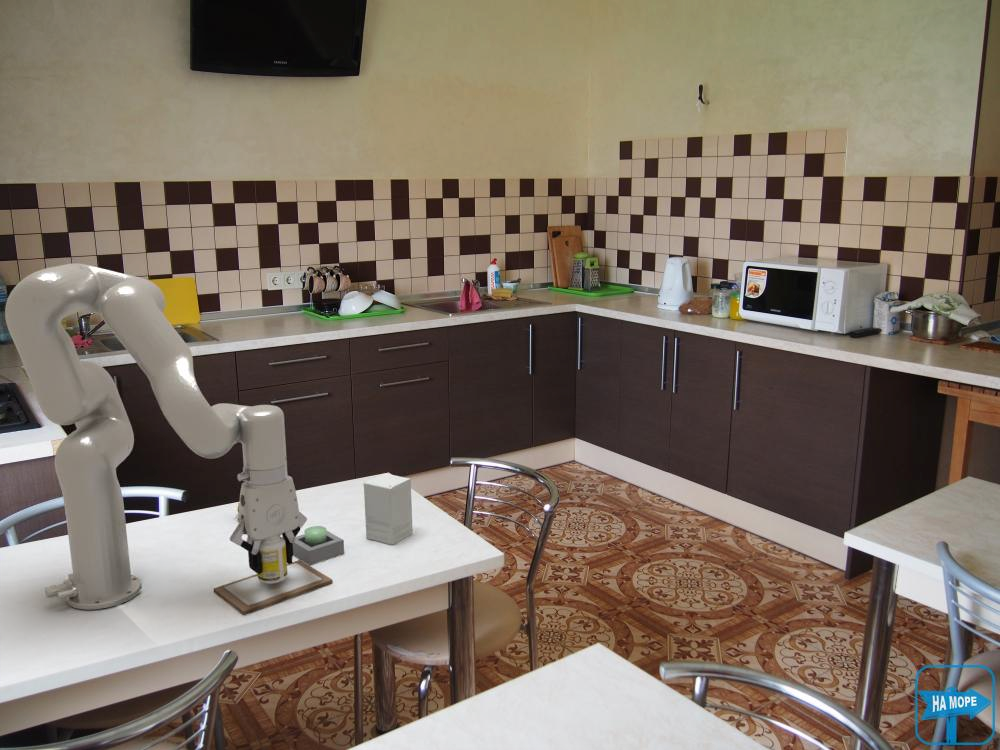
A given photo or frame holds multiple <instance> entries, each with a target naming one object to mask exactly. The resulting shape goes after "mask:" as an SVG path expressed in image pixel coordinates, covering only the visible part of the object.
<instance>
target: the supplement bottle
mask: <svg viewBox="0 0 1000 750" xmlns="http://www.w3.org/2000/svg"><path fill="white" fill-rule="evenodd" d="M258 552H259V553H261V558H262V573H261V574H258V580H259V581H260V582H262V583H267V584H272V583H277V582H280V581H283V580H284V579H285V578H286V577H287V564H288V563H287V559H286V544H285V540H284V538H283V537H282V535H281V534H280V535H276V536H273V537H270V538H266V539H263V540H261V541H260V546H259V550H258Z"/></svg>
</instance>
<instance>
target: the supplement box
mask: <svg viewBox="0 0 1000 750" xmlns="http://www.w3.org/2000/svg"><path fill="white" fill-rule="evenodd" d="M363 493H364V494H363V496H364V517H365V531H366V532H365V538H366V539H369V540H372V541H376V542H380V543H384V544H387V545H395V544H396V543H399V542H401V541H402V540H404V539H406V538H407V537H409V536H411V535H412V534H413V510H412V509H413V507H412V505H413V504H412V479H411V478H410V477H404V476H399V475H394V474H389V473H382V474H380V475H378V476H375V477H374V478H372V479H369V480H367V481H365V482H363Z"/></svg>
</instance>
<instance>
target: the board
mask: <svg viewBox="0 0 1000 750" xmlns="http://www.w3.org/2000/svg"><path fill="white" fill-rule="evenodd" d="M333 583H334V581H333V579H332V578H331V577H329V576H327V575H325V574H324V573H322V572H321V571H319V570H318V569H316V568H314V567H313V566H311V565H309V564H307V563H305V562H304V561H302V560H300V559H298V560H296V561H295V560H294V561H292V563H291V564H288V563H287V577H286V578H285V579H284V580H283V581H280V582H277V583H272V584H267V583H262V582H260V581H259V580H258V574H257V573H256V574H252V575H249V576H247V577H243V578H241V579H238V580H235V581H231V582H228V583H226V584H223V585H222V584H221V585H220V586H219V585H218V586H217V587H213V594H215V595H216V596H218V597H219V598H220V599H222V600H223V601H224V602H226V603H227V604H228V605H230V606H231V607H232V608H233V609H235V610H236V611H237V612H238V613H240V614H241V615H242V616H247V615H250V614H253V613H256V612H258V611H261V610H264V609H267V608H270V607H272V606H274V605H278V604H280V603H283V602H286V601H288V600H292V599H294V598H297V597H299V596H302V595H305V594H308V593H310V592H311V593H312V592H313V591H316V590H318V589H319V590H320V589H322V588H324V587H328V586H330V585H333Z"/></svg>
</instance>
